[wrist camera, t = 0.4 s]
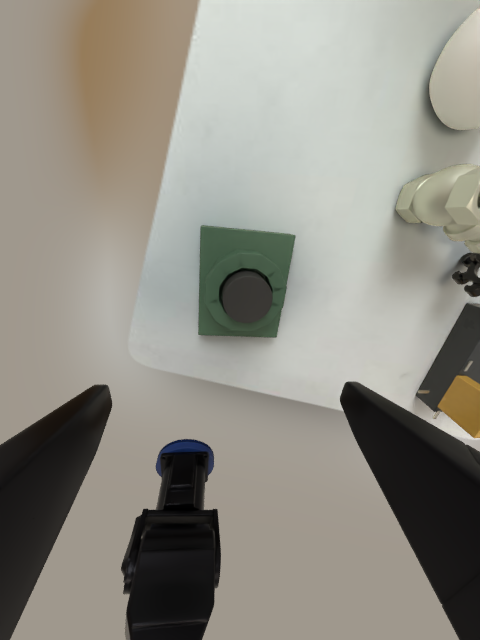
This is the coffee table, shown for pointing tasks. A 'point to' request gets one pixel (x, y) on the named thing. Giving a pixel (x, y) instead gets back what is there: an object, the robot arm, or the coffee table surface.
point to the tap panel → (454, 358)
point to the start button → (246, 297)
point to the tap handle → (463, 404)
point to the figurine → (459, 78)
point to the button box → (235, 256)
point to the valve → (449, 212)
